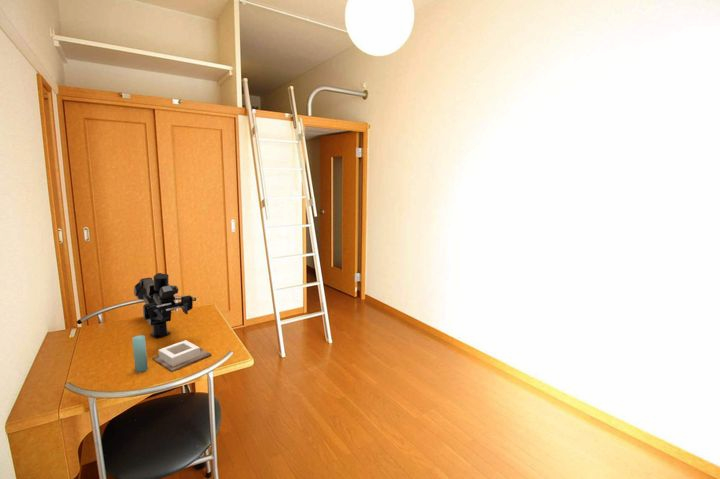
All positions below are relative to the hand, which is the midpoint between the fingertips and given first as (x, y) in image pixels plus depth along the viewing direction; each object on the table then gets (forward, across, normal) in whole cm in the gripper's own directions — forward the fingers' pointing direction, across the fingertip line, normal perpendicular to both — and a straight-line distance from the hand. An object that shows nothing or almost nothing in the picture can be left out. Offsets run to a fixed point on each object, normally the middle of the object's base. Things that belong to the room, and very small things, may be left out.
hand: (175, 316), depth 144 cm
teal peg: (+8, -14, +15) cm, 22 cm away
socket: (+8, -1, +15) cm, 17 cm away
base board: (+8, -1, +15) cm, 17 cm away
